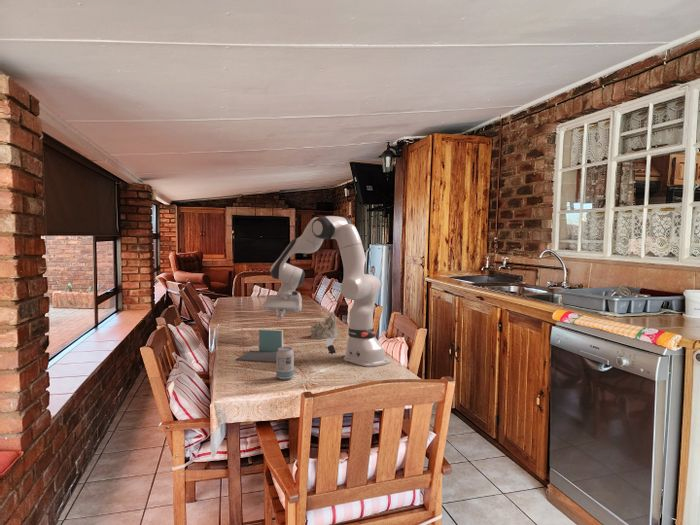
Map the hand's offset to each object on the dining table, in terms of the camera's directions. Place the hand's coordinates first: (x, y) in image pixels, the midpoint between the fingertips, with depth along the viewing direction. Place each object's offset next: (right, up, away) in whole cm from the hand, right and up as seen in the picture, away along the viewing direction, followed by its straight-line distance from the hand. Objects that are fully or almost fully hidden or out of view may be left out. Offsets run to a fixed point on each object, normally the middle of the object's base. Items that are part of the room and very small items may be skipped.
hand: (279, 317), depth 229 cm
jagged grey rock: (+22, -14, +23) cm, 35 cm away
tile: (-2, -16, -11) cm, 19 cm away
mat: (-4, -16, -21) cm, 27 cm away
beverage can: (+11, -18, -52) cm, 56 cm away
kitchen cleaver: (+25, -16, 0) cm, 29 cm away
